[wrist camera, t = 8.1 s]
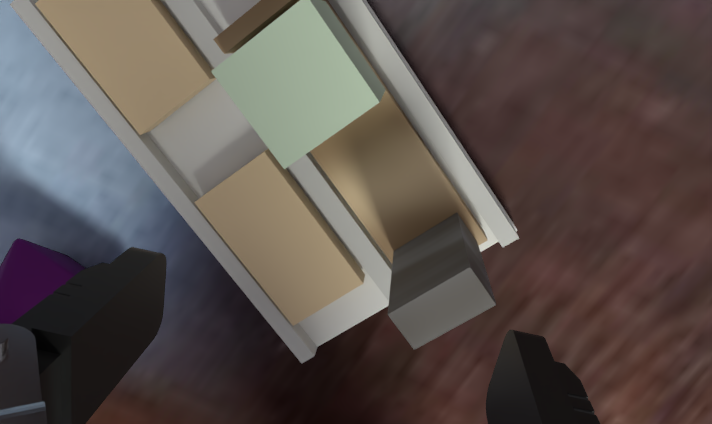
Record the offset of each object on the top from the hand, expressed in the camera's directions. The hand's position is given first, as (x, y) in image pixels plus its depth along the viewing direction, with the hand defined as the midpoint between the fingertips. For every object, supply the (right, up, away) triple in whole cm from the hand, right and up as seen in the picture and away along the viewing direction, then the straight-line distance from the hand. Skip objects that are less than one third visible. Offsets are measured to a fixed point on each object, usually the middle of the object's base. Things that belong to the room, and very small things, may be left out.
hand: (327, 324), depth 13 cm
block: (-1, +9, +14) cm, 17 cm away
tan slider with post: (+1, +6, +16) cm, 18 cm away
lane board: (-4, +8, +18) cm, 20 cm away
